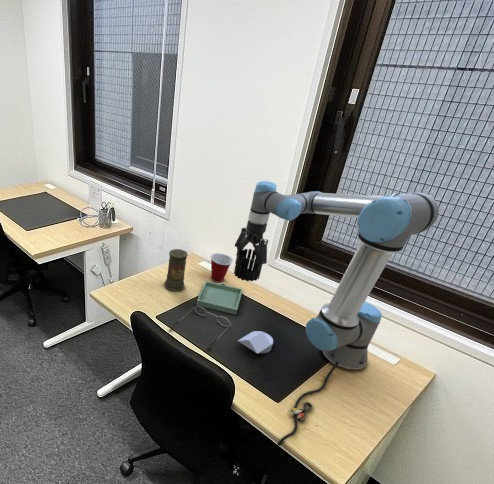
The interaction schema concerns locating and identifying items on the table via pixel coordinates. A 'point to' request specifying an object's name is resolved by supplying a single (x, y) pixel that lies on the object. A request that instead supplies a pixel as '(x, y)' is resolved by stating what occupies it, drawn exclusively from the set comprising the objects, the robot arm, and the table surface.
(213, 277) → the plastic cup
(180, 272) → the container
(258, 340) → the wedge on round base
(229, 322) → the eyeglasses
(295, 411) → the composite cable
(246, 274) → the pen pot
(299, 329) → the table surface
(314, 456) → the table surface
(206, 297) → the desk tray
